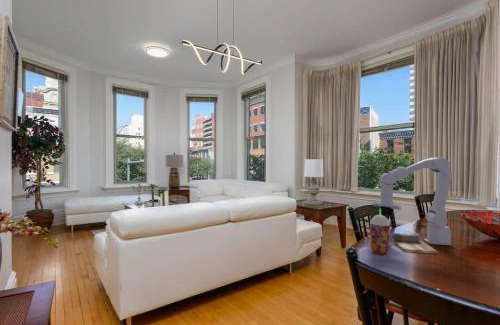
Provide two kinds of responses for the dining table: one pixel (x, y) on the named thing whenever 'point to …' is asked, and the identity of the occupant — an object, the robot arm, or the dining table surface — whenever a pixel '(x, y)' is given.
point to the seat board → (414, 247)
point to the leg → (406, 237)
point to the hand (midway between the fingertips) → (386, 221)
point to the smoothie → (379, 234)
